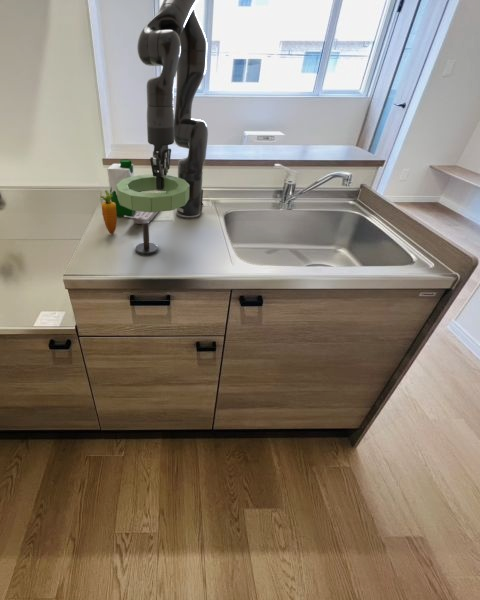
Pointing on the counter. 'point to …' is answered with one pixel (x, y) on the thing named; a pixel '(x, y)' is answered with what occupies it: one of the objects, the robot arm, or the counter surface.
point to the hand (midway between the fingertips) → (161, 187)
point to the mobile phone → (142, 217)
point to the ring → (152, 202)
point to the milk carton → (115, 176)
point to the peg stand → (146, 243)
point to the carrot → (109, 213)
